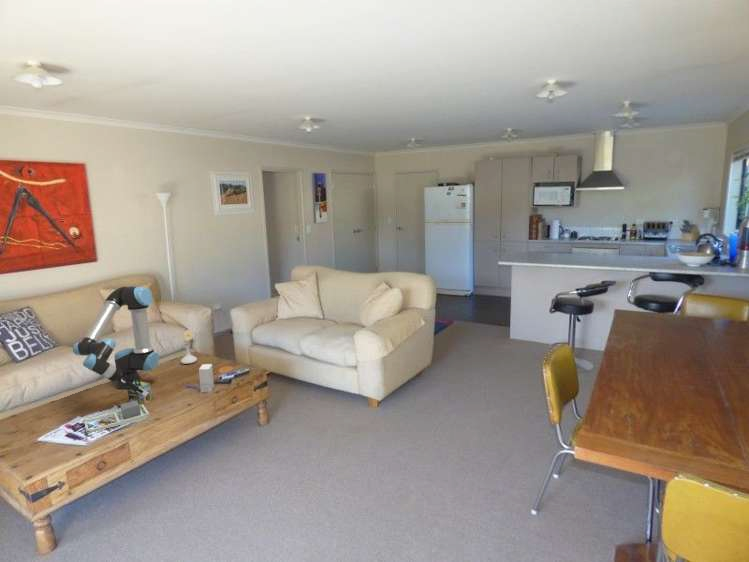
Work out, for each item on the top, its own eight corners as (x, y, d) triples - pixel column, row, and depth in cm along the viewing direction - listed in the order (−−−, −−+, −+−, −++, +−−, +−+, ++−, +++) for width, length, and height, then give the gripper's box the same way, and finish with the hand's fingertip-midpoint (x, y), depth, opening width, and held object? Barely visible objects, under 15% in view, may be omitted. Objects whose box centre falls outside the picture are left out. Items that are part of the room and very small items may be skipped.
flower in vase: (177, 364, 332) (173, 331, 328) (188, 359, 343) (184, 326, 338) (191, 366, 328) (188, 332, 323) (202, 360, 338) (199, 328, 334)
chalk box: (153, 401, 272) (150, 377, 270) (139, 407, 264) (136, 383, 262) (142, 398, 276) (139, 375, 274) (128, 405, 268) (125, 381, 265)
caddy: (87, 436, 233) (87, 431, 233) (84, 425, 245) (83, 420, 245) (149, 418, 251) (149, 413, 250) (143, 409, 262) (143, 404, 262)
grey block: (124, 421, 246) (123, 409, 245) (122, 416, 253) (120, 404, 251) (141, 417, 251) (139, 405, 250) (138, 411, 257) (136, 400, 256)
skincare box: (204, 387, 290) (201, 364, 288) (215, 386, 291) (212, 363, 288) (200, 393, 282) (198, 369, 279) (211, 392, 283) (209, 368, 280)
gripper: (103, 372, 267) (136, 390, 279) (110, 385, 248) (144, 403, 260) (112, 361, 269) (144, 379, 281) (120, 373, 250) (153, 391, 262)
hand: (144, 390), depth 271 cm, fingers closed on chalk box, 12 cm apart
